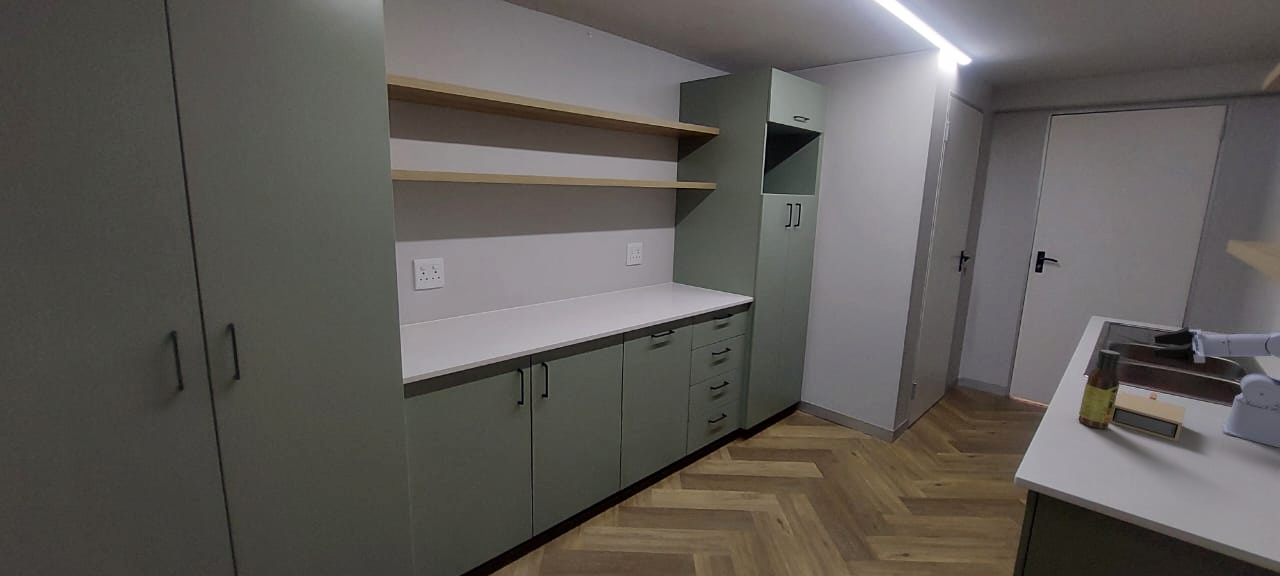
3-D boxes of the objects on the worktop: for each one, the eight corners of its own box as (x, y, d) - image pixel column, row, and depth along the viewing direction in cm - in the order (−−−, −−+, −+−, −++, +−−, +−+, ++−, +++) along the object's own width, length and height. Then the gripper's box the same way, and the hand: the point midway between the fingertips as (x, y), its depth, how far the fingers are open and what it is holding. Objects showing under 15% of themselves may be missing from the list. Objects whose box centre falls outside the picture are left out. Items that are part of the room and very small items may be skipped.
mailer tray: (1172, 436, 130) (1177, 420, 129) (1113, 420, 138) (1118, 404, 137) (1178, 415, 143) (1182, 399, 142) (1124, 401, 151) (1128, 386, 150)
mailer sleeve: (1177, 441, 129) (1182, 423, 128) (1108, 422, 139) (1112, 404, 138) (1181, 425, 139) (1186, 407, 138) (1116, 407, 148) (1120, 391, 147)
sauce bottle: (1109, 432, 132) (1128, 358, 128) (1077, 424, 136) (1095, 352, 132) (1107, 423, 138) (1125, 352, 133) (1076, 416, 141) (1093, 346, 137)
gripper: (1223, 318, 139) (1152, 321, 149) (1228, 345, 130) (1152, 346, 140) (1226, 342, 141) (1156, 343, 151) (1231, 370, 132) (1156, 369, 142)
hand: (1154, 346), depth 146 cm, fingers open, 7 cm apart
